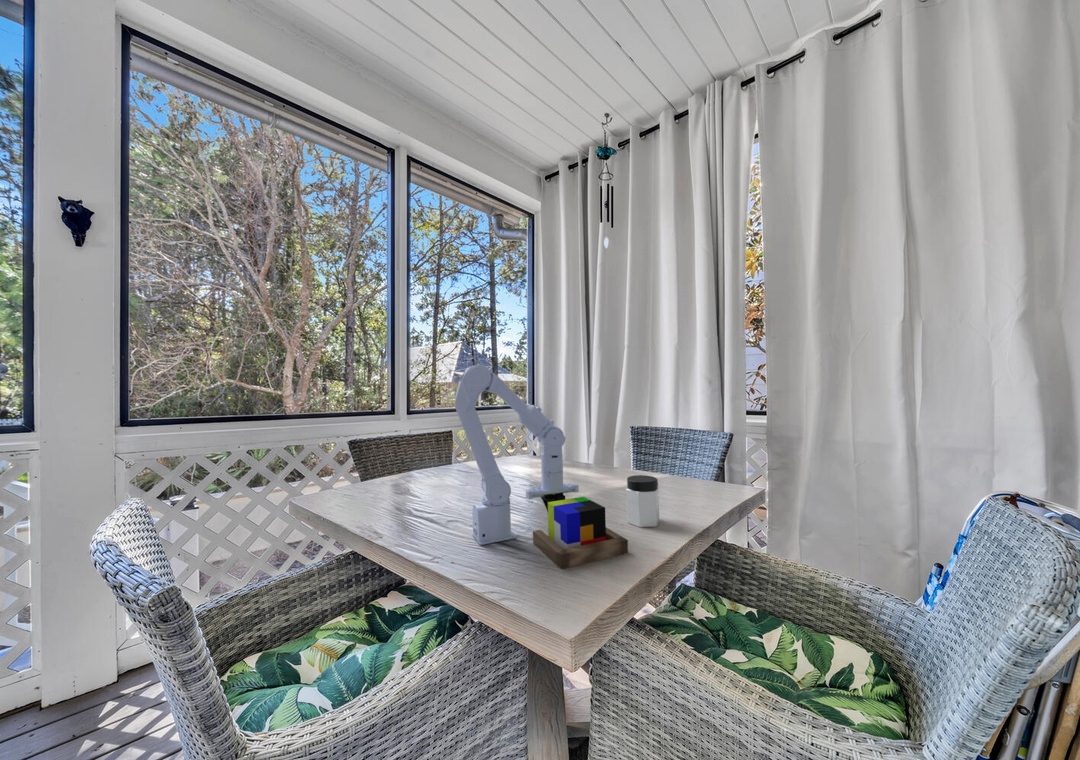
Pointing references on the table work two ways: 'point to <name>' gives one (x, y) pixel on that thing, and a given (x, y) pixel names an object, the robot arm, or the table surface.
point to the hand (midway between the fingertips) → (553, 522)
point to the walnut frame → (580, 549)
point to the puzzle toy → (576, 522)
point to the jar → (642, 501)
